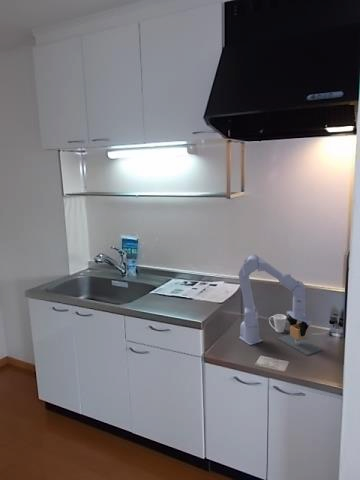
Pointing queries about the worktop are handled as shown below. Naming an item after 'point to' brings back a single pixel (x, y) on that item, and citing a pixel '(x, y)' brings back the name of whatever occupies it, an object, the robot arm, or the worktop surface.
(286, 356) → the worktop surface
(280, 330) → the cup
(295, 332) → the wooden cube with hole
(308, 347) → the plate
